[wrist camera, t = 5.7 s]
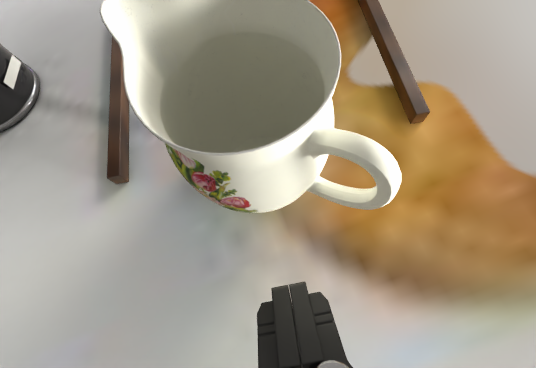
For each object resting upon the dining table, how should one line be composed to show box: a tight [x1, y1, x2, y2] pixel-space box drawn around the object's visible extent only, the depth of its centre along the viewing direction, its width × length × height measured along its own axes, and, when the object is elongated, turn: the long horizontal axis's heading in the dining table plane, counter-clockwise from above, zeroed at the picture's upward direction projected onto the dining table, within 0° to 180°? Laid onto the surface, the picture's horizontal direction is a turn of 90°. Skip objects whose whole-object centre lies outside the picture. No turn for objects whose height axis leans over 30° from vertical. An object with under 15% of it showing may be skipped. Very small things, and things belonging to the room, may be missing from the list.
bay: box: [107, 0, 430, 184], centre depth 30 cm, size 22×29×2 cm
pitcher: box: [100, 0, 401, 213], centre depth 19 cm, size 11×18×14 cm, turn 58°
